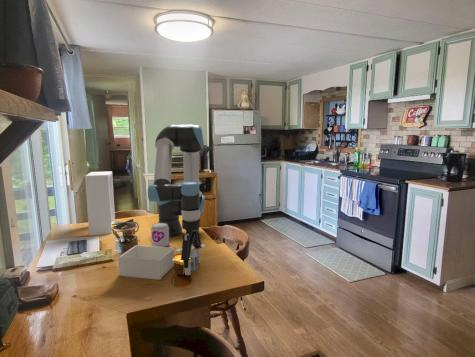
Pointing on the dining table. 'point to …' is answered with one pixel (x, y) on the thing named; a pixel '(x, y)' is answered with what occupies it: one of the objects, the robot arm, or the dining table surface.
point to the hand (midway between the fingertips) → (192, 268)
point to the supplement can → (160, 235)
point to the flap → (133, 257)
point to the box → (100, 202)
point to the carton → (146, 262)
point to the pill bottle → (193, 260)
